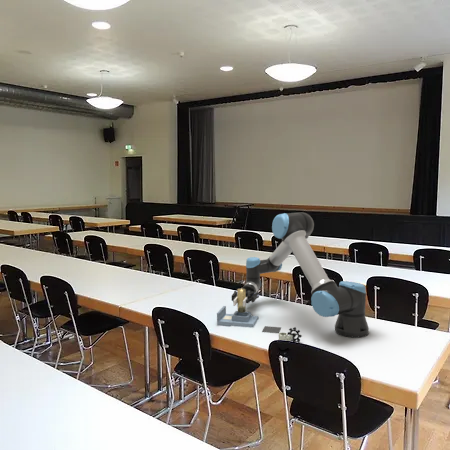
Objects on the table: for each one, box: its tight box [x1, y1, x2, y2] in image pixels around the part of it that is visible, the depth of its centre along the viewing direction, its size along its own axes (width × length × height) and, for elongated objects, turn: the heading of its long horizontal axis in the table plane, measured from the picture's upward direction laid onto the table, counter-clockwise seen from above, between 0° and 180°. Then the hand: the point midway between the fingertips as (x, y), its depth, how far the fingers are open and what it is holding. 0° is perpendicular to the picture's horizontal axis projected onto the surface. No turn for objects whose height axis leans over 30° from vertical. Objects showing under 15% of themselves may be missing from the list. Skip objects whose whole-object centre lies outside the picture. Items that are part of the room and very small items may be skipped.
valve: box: [277, 327, 303, 342], centre depth 185 cm, size 7×7×12 cm
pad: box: [261, 325, 282, 334], centre depth 203 cm, size 8×8×1 cm
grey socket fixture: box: [216, 305, 259, 328], centre depth 214 cm, size 18×12×6 cm, turn 75°
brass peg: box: [236, 287, 247, 313], centre depth 213 cm, size 4×4×11 cm
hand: (238, 303), depth 208 cm, fingers closed on brass peg, 4 cm apart
